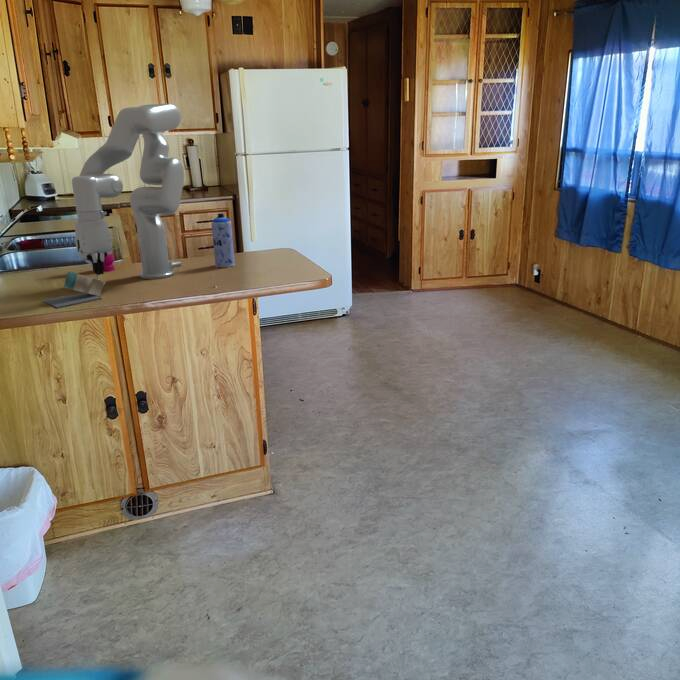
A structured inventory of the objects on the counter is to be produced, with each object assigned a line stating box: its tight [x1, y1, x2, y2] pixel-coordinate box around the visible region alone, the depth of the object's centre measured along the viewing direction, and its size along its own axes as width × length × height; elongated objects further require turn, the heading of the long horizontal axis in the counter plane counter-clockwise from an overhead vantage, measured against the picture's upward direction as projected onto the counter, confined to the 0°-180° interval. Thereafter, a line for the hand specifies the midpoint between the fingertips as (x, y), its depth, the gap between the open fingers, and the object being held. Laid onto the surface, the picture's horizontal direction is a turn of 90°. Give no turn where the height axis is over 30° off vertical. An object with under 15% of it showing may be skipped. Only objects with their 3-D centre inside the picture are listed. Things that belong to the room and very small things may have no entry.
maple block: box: [63, 271, 105, 297], centre depth 194 cm, size 5×5×10 cm
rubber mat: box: [42, 292, 103, 309], centre depth 192 cm, size 14×12×1 cm
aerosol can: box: [211, 213, 236, 268], centre depth 233 cm, size 8×8×20 cm
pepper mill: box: [103, 252, 115, 273], centre depth 232 cm, size 7×7×20 cm
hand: (99, 273), depth 196 cm, fingers closed
